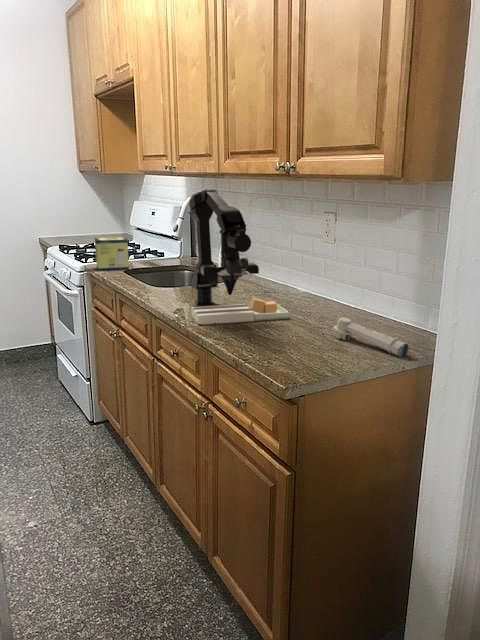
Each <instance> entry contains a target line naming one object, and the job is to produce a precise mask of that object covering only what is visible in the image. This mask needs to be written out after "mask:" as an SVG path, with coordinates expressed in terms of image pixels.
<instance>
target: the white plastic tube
mask: <svg viewBox="0 0 480 640" xmlns="http://www.w3.org/2000/svg"><path fill="white" fill-rule="evenodd" d="M332 330H333V331H334V332H333V336H335V338H336V339H338V340H340V339H342V340H343V341H348V340H351V338H352V335H353V336H356V337H358V338H360V339H362V340H364V341H365V342H368V343H370V344H372V345H374V346H376V347H378V348H380V349H382V350H383V351H384V350H385V351H386V352H388V354H391V353H392V354H393V355H394V354H395V356H397V357H399V356H400V358H402V357H405V355H407V354H408V353H409V350H410V347H409V344H408V343H405V342H403V341H401V340H399V338H394V337H392V336H388V335H386V334H384V333H381V332H379V331H375V330H373V329H370V328H367V327H365V326H362V325H359V324H357V323H354V322H352V320H351V319H350V318H349V317H339V318H338V319H337V323H336V325H335V324H334V326H333V328H332ZM392 354H391V355H392Z"/></svg>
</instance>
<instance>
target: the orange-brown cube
mask: <svg viewBox="0 0 480 640" xmlns="http://www.w3.org/2000/svg"><path fill="white" fill-rule="evenodd" d="M266 302H267V301H265V300H263V299H261V298H260V299H259V298H256V297H251V299H250V303H249V305H248V306H249V308H252V311H254V312H258V313H263V310H264V307H265V303H266Z"/></svg>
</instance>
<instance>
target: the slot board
mask: <svg viewBox="0 0 480 640" xmlns="http://www.w3.org/2000/svg"><path fill="white" fill-rule="evenodd" d="M248 306H249V305H248V304H245V303H244V304H243V303H242V304H224V305H222V304H221V305H203V306H193V307H191V317H192V318H193V320H194V319H195V320H194V321H195V322H196V324H197V323H198V324H201V325H214V323H216V324H227V323H228V324H229V323H244V322H255V320H254V311H252V308H249V307H248ZM198 324H197V325H198Z"/></svg>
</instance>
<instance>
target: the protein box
mask: <svg viewBox="0 0 480 640" xmlns="http://www.w3.org/2000/svg"><path fill="white" fill-rule="evenodd" d="M128 243H129V242H128V239H127V238H126V237H125V236H119V237H117V236H116V237H95V238H94V246H95V258H96V259H95V261H96V269H97V271H98V272H111V271H112V272H114V271H128V270H130V266H129V265H130V261H129V246H128V245H129V244H128Z"/></svg>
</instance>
